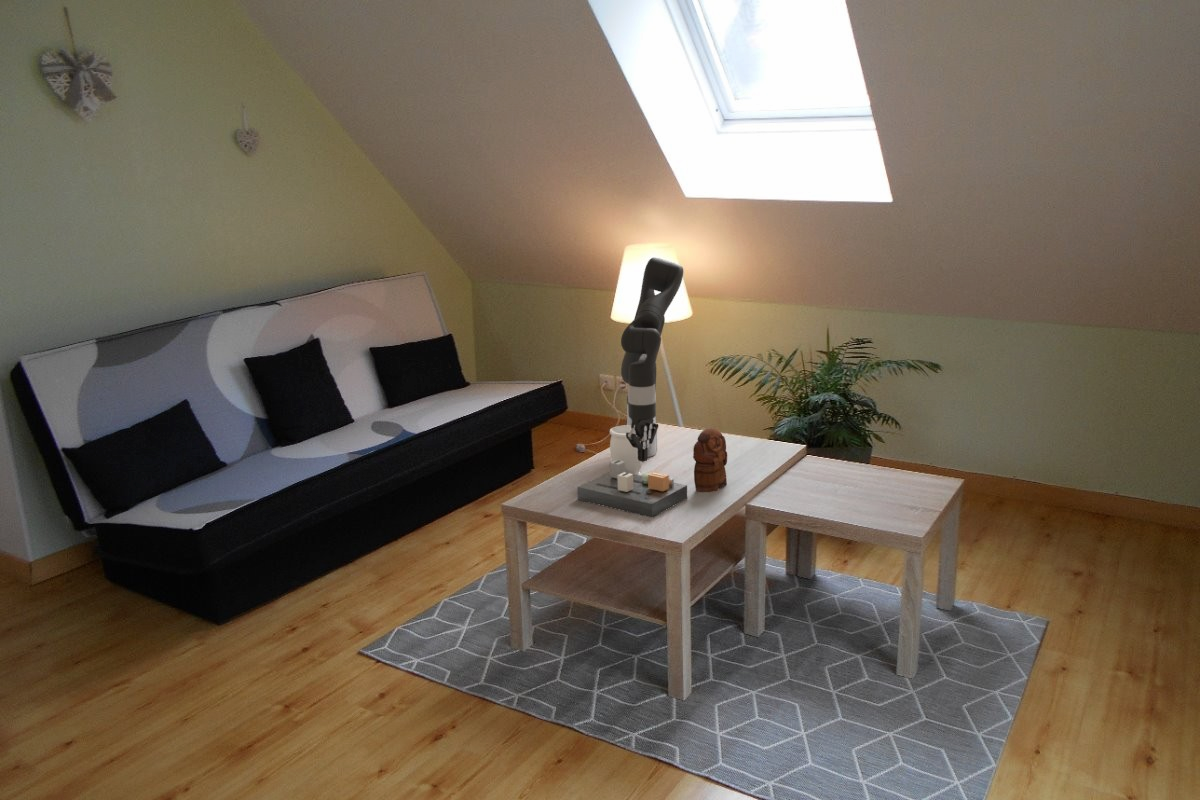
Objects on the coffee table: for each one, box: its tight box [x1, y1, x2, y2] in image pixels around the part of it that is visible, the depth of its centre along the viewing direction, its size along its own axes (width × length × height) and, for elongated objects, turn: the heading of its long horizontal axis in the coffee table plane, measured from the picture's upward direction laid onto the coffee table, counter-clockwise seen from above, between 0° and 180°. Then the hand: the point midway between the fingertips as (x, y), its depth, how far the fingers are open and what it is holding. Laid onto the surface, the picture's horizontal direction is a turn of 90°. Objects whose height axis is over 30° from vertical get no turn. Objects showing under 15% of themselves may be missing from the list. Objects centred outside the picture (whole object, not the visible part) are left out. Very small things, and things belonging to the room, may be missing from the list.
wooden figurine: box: [692, 427, 728, 493], centre depth 296 cm, size 12×6×18 cm, turn 141°
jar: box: [609, 424, 643, 476], centre depth 308 cm, size 11×10×15 cm
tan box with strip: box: [648, 471, 670, 491], centre depth 285 cm, size 3×5×4 cm, turn 53°
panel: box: [576, 471, 688, 518], centre depth 289 cm, size 18×26×6 cm
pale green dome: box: [641, 472, 652, 484], centre depth 291 cm, size 4×4×2 cm
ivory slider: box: [617, 472, 633, 492], centre depth 285 cm, size 3×3×5 cm
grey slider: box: [609, 460, 625, 479], centre depth 296 cm, size 3×3×5 cm
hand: (642, 460), depth 278 cm, fingers closed
